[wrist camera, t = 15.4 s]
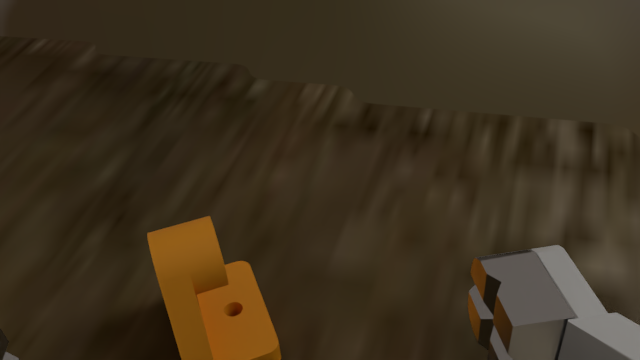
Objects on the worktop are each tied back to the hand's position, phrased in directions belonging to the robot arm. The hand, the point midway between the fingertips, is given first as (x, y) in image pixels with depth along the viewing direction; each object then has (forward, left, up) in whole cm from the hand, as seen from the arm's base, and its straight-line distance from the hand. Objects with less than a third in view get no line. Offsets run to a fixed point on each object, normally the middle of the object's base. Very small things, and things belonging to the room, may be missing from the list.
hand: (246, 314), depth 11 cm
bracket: (+9, -26, -32) cm, 43 cm away
